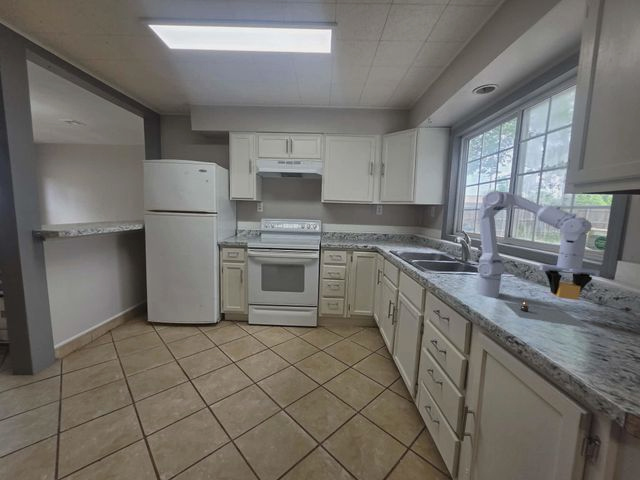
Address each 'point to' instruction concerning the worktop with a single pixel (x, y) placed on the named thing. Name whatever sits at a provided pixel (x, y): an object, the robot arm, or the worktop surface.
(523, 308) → the wire post
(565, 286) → the orange block
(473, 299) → the worktop surface
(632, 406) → the worktop surface
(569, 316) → the plate
